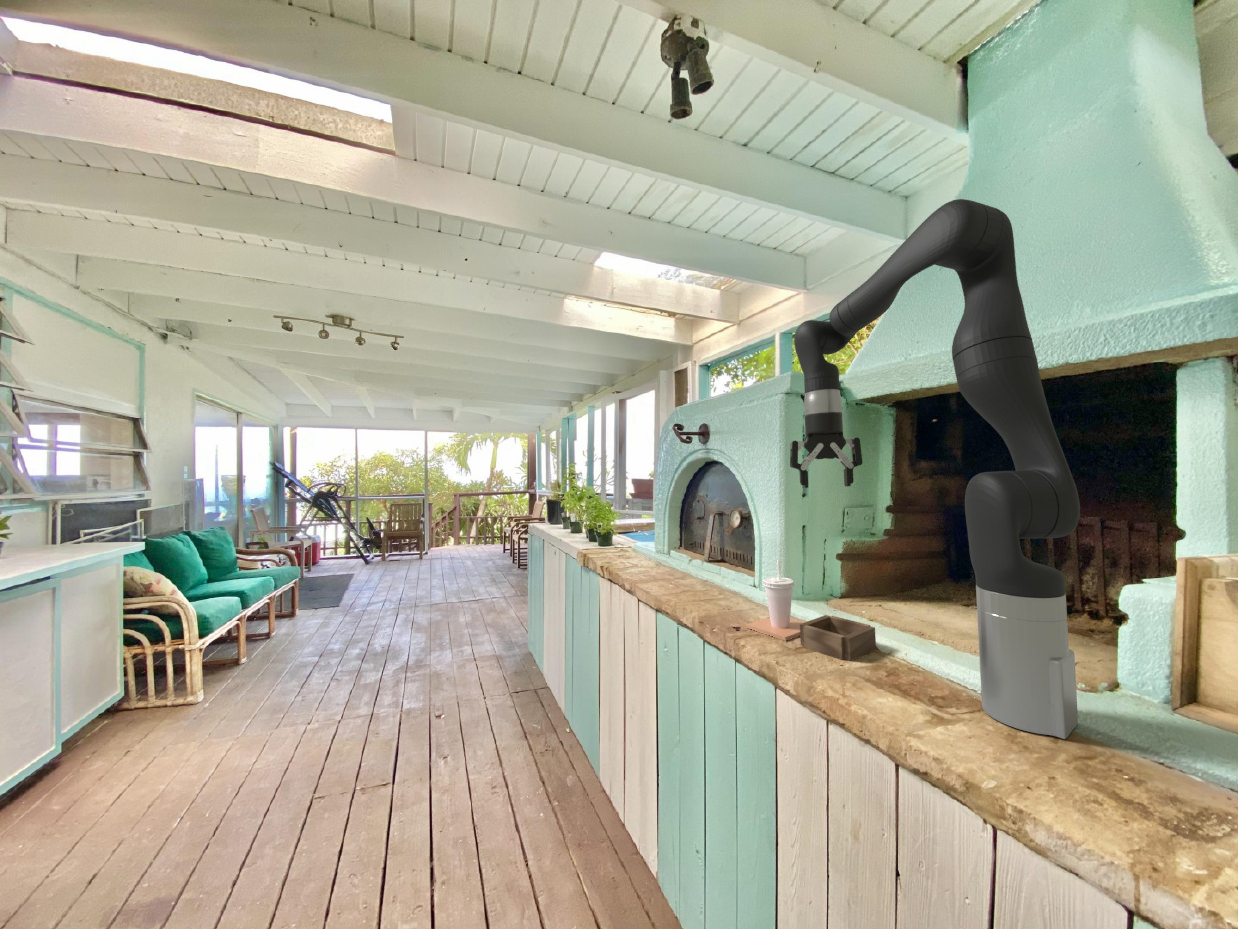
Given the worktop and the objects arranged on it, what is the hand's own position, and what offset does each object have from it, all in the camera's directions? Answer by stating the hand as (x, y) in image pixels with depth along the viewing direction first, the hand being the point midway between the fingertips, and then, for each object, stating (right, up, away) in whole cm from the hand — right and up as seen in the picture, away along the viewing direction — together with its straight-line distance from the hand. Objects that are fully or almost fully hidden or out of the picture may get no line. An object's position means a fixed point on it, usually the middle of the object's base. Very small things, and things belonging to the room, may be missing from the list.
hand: (826, 487), depth 100 cm
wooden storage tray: (-3, -30, -12) cm, 32 cm away
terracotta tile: (-10, -31, -1) cm, 32 cm away
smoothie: (-10, -30, -1) cm, 32 cm away
